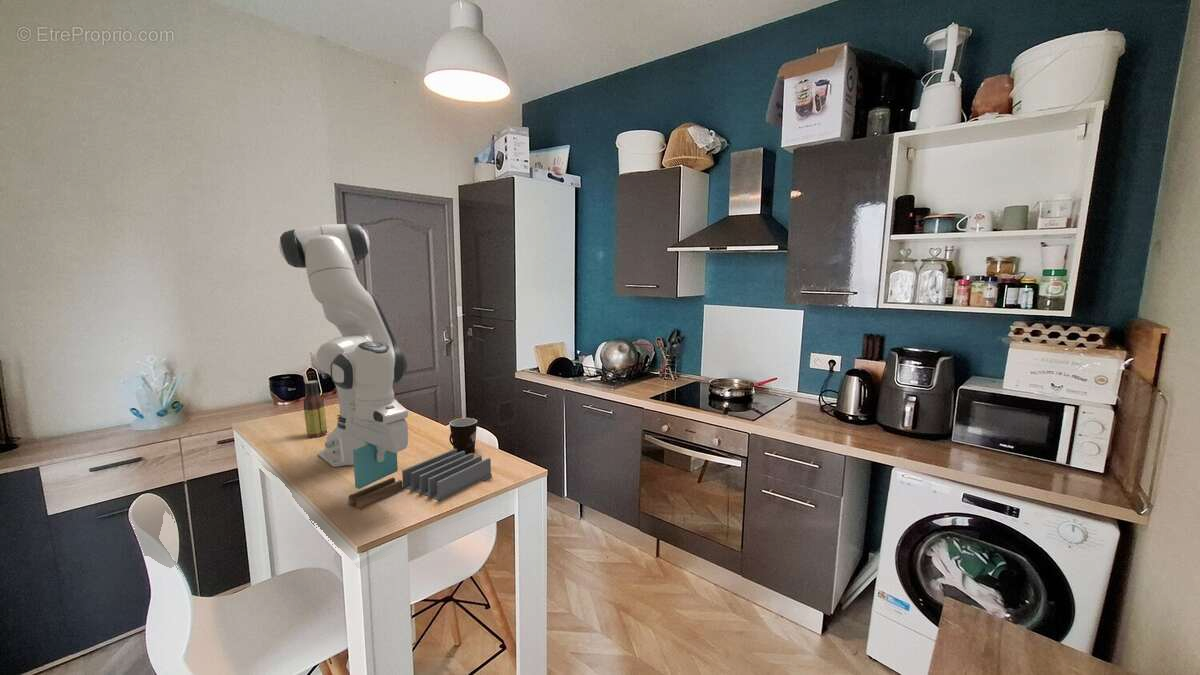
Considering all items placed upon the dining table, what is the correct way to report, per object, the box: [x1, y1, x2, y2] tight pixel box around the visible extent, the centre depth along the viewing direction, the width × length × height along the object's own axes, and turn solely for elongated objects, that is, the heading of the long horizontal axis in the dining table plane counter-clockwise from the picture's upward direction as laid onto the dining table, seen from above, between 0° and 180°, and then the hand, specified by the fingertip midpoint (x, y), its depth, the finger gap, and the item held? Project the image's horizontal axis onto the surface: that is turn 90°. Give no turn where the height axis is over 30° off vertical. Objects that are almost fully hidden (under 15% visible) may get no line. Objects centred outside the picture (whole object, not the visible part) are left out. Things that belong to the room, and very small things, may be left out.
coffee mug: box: [449, 417, 478, 456], centre depth 146 cm, size 12×9×10 cm
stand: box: [347, 477, 406, 511], centre depth 115 cm, size 6×12×3 cm, turn 149°
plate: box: [353, 444, 399, 490], centre depth 115 cm, size 1×11×10 cm, turn 151°
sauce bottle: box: [303, 380, 328, 438], centre depth 161 cm, size 7×6×20 cm
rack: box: [401, 448, 493, 502], centre depth 125 cm, size 15×18×6 cm
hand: (375, 459), depth 115 cm, fingers closed on plate
